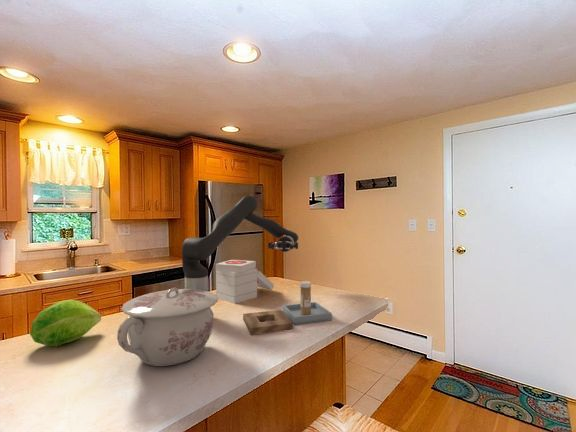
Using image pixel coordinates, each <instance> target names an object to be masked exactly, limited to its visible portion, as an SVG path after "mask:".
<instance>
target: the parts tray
mask: <svg viewBox="0 0 576 432" xmlns="http://www.w3.org/2000/svg"><path fill="white" fill-rule="evenodd" d="M281 306H282V309H281V311H282V312H283V313H284V314H285V315H286V316H287V317H288V318H289V319H290V320H291V321H292V322H293V326H298V325H306V324H315V323H322V322H330V321H332V318H333V313H332V312H331V311H329V310H328V309H327V308H325V307H324V306H322V305H321V304H320V303H318V302H317V301H313V302H312V301H311V314H310V315H302V314H301V313H300V312H301V302H300V303H291V304H282V305H281Z"/></svg>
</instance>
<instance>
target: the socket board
mask: <svg viewBox="0 0 576 432" xmlns="http://www.w3.org/2000/svg"><path fill="white" fill-rule="evenodd" d="M242 315H243V316H242V320H243V322H244V324H245V327H246V328H247V330H248V332H249V334H250V336H255V335H262V334H270V333H278V332H279V333H280V332H286V331H293V330H294V324H293V322H292V321H291V320H290V319H289V318H288V317H287V316H286V315H285V314H284V313H283V312H282V309H275V310H274V309H273V310H266V311H257V312H256V311H255V312H249V313H248V312H247V313H246V312H245V313H242Z"/></svg>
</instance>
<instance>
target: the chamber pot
mask: <svg viewBox="0 0 576 432" xmlns="http://www.w3.org/2000/svg"><path fill="white" fill-rule="evenodd" d="M218 301H219V299H218V297H217V296H216V293H213V292H210V291H208V292H207V291H203V290H195V289H185V288H177V287H175V286H174V287H171V288H170V289H166V290H159V291H154V292H149V294H146V293H145V294H143V295H139V296H137V297H134V298H132V299H129V300H128V301H126V302H124V303H123V304H122V306H121V308H120V310H121V311H122V312H123V314H125V315H127V316H126V318H125V319H124V320H123V322H121V324H120V325H119V327H118V329H117V333H116V334H117V336H116V338H117V343H118V345H119V346H120V348H122V350H124V351H125V352H127V353H131V354H134V355H135V356H137V357H138V358H139V360H140V361H142V362H143V363H145V364H147V365H150V366H155V367H168V366H173V365H180V364H181V363H185V362H188V361H190V360H192V359H193V358H195V357H197V356H199V354H200V353H201V352H202V351H203V350H204V348H205V346H206V344H207V343H208V341H209V339H210V337H211V335H212V332H213V326H214V322H215V321H214V319H215V317H214V315H215V314H214V312H213V309H212V308H211V307H213V306H215V305H216V304H217V302H218ZM130 316H131V317H130Z"/></svg>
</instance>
